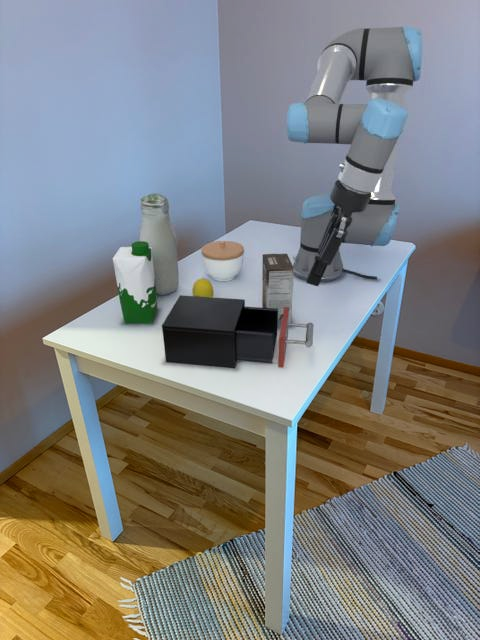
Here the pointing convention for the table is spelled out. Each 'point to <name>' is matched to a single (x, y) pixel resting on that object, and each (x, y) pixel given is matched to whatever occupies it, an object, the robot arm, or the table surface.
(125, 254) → the milk carton
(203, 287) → the lemon
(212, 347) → the cabinet
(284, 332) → the drawer
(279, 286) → the coffee box
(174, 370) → the table surface
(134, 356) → the table surface
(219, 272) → the lidded bowl
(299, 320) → the table surface
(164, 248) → the glass bottle
